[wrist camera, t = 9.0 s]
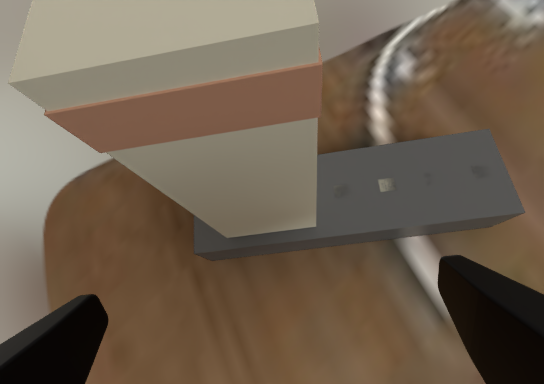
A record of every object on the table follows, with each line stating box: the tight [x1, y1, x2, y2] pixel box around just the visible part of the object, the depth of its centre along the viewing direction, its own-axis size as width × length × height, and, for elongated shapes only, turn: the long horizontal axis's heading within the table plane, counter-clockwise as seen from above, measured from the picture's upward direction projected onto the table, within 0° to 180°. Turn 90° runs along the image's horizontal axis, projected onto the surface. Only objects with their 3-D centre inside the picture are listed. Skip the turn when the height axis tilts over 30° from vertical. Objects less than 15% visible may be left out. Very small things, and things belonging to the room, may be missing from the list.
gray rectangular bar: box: [194, 129, 525, 261], centre depth 14 cm, size 4×14×2 cm, turn 96°
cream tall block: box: [8, 0, 323, 238], centre depth 9 cm, size 3×4×10 cm
